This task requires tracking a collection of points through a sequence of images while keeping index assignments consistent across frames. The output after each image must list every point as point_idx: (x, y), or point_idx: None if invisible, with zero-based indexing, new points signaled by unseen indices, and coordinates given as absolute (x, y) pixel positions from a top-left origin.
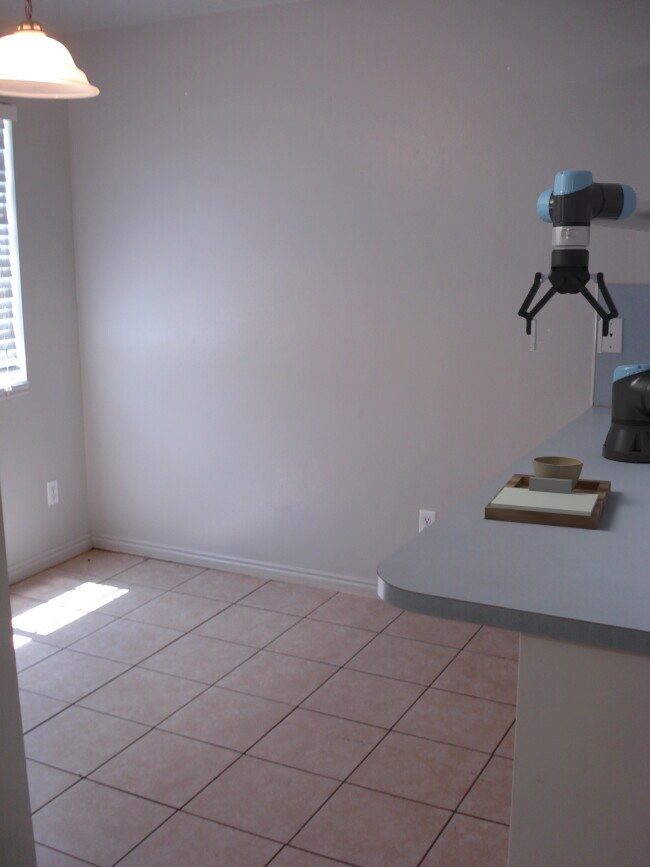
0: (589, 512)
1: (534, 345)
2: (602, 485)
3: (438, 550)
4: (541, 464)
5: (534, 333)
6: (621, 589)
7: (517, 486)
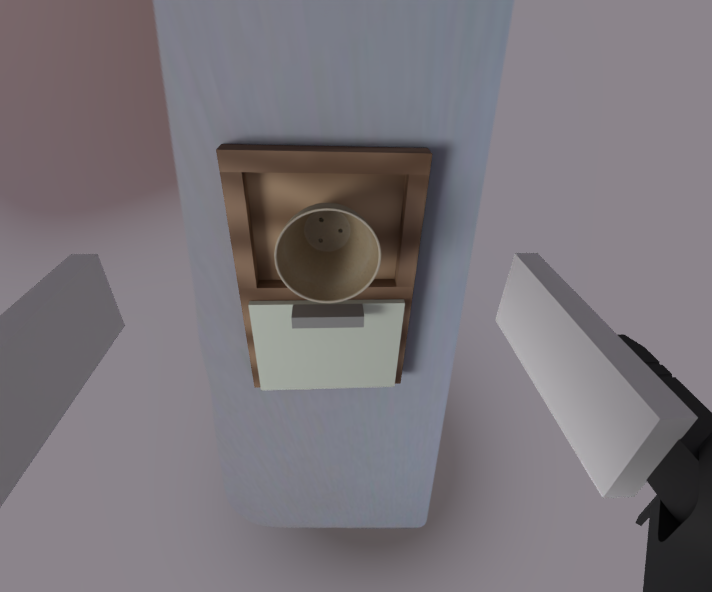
0: (392, 385)
1: (106, 342)
2: (413, 201)
3: (253, 468)
4: (302, 296)
5: (62, 416)
6: (417, 489)
7: (250, 226)
